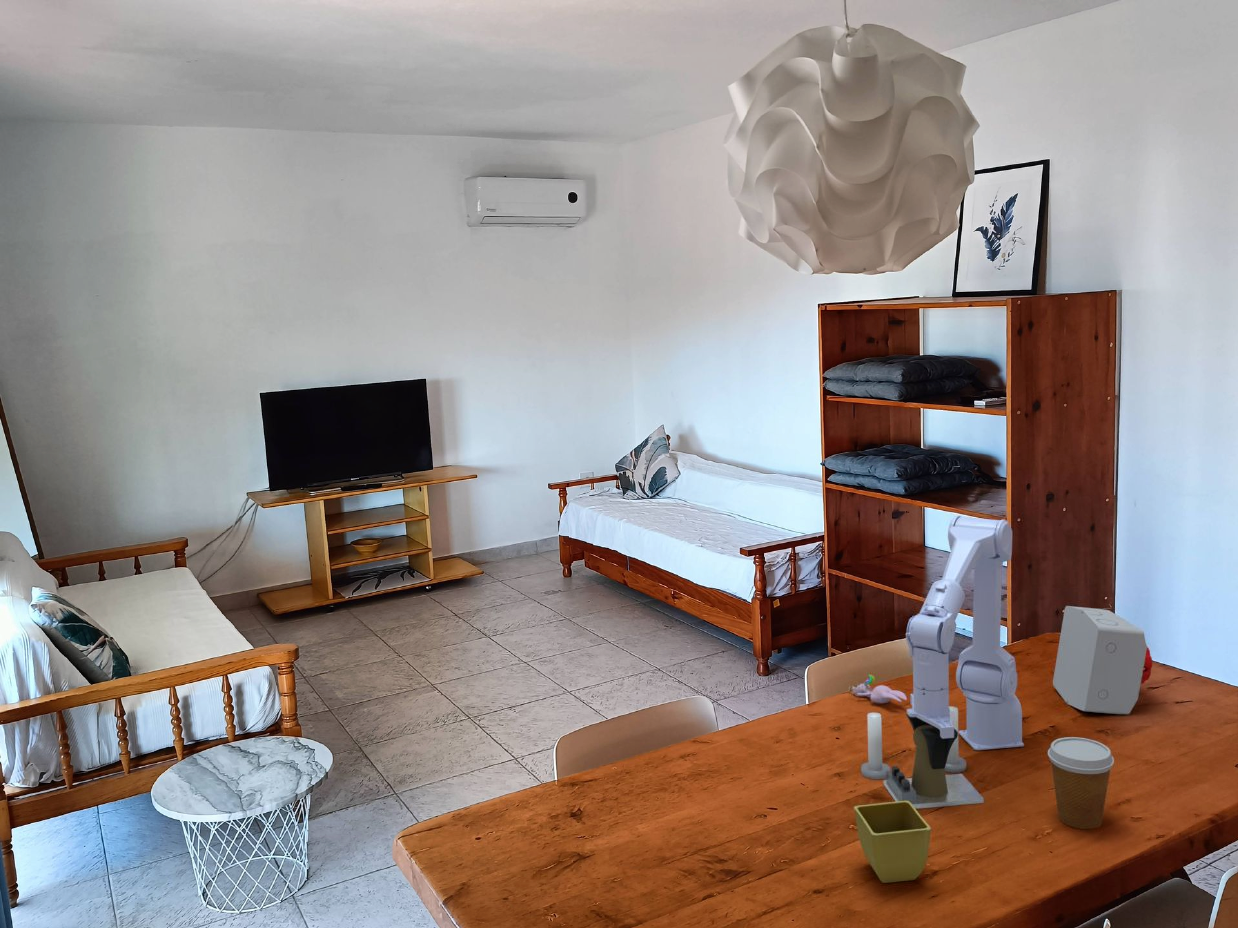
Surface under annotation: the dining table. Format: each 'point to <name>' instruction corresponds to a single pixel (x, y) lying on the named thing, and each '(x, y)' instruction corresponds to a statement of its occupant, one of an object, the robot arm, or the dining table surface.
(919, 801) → the board
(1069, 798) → the disposable coffee cup
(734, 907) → the dining table surface
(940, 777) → the cork
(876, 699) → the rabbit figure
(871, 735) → the post
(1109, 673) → the electrical switch box
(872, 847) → the flower pot
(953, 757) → the post
